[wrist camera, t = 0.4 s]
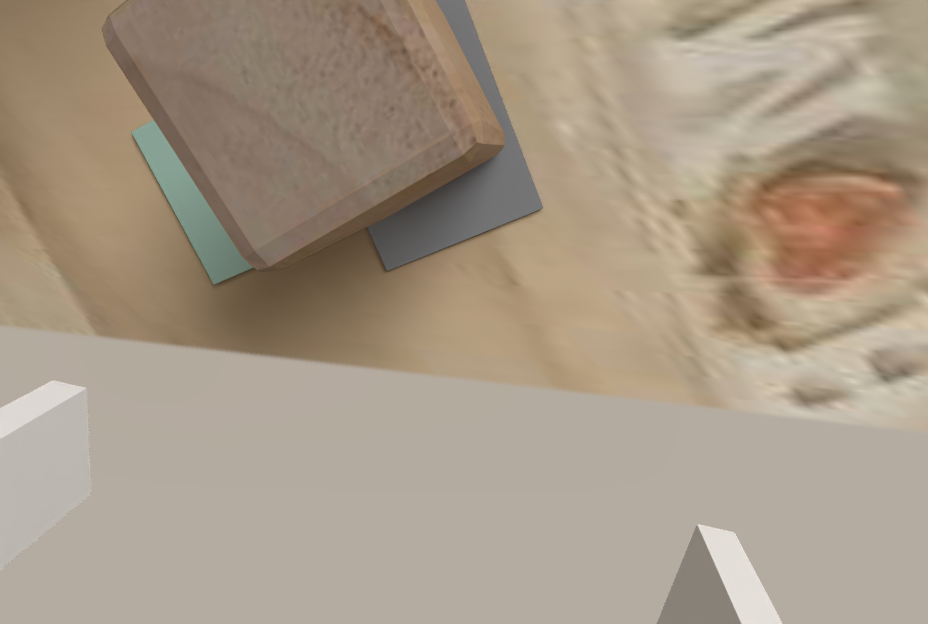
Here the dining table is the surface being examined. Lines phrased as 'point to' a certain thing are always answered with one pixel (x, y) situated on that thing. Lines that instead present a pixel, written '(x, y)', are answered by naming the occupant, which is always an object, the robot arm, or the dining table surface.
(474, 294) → the dining table surface
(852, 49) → the dining table surface
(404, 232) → the mat
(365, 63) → the wooden block
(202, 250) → the pad
